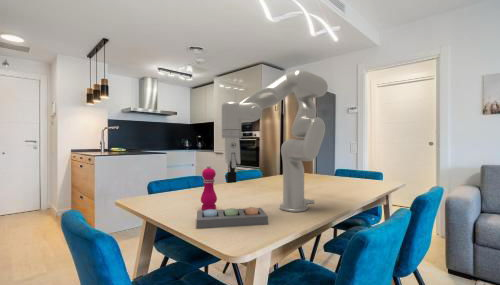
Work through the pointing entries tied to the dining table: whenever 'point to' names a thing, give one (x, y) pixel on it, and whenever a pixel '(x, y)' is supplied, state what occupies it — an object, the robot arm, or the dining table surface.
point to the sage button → (231, 212)
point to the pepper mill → (208, 189)
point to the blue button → (210, 213)
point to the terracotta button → (251, 211)
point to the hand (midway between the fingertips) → (231, 182)
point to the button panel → (231, 219)
